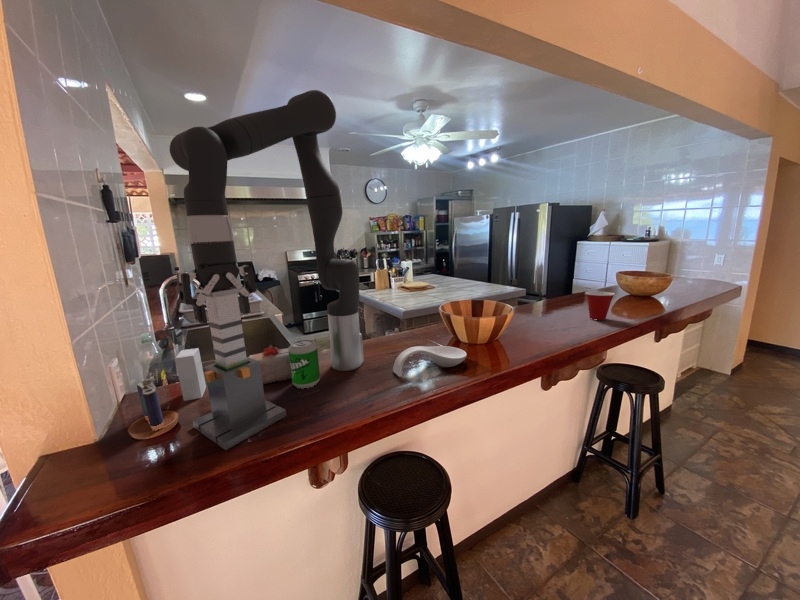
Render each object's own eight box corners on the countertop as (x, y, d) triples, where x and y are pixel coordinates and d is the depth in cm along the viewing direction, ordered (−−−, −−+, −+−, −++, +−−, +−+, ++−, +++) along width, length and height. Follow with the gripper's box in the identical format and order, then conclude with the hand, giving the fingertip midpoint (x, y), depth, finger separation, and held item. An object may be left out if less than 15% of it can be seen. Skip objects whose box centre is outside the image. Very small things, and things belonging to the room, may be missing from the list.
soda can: (310, 375, 95) (306, 336, 92) (325, 382, 90) (322, 341, 87) (287, 385, 89) (282, 344, 86) (302, 393, 84) (298, 350, 82)
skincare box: (188, 391, 87) (180, 349, 85) (206, 387, 89) (199, 347, 86) (182, 401, 82) (174, 358, 79) (201, 398, 83) (193, 355, 81)
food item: (249, 390, 87) (244, 356, 85) (249, 378, 94) (244, 347, 92) (300, 379, 92) (297, 347, 90) (297, 369, 99) (294, 339, 97)
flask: (143, 417, 75) (133, 375, 73) (158, 412, 77) (149, 371, 75) (152, 433, 69) (142, 388, 67) (168, 427, 71) (159, 383, 69)
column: (242, 388, 74) (227, 286, 69) (254, 394, 72) (238, 288, 66) (220, 398, 70) (201, 290, 65) (231, 404, 68) (212, 292, 62)
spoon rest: (451, 353, 108) (451, 333, 106) (474, 366, 98) (474, 343, 96) (388, 368, 98) (387, 346, 96) (405, 384, 88) (404, 360, 86)
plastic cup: (604, 315, 144) (607, 289, 142) (617, 322, 134) (620, 294, 131) (578, 315, 146) (581, 289, 143) (589, 322, 136) (592, 294, 133)
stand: (253, 399, 82) (245, 347, 79) (286, 415, 74) (279, 359, 71) (193, 427, 71) (182, 368, 68) (225, 450, 63) (214, 385, 60)
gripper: (237, 238, 71) (247, 308, 75) (163, 241, 60) (179, 324, 63) (256, 237, 67) (265, 312, 71) (180, 241, 56) (196, 330, 59)
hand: (224, 318), depth 67 cm, fingers open, 8 cm apart
